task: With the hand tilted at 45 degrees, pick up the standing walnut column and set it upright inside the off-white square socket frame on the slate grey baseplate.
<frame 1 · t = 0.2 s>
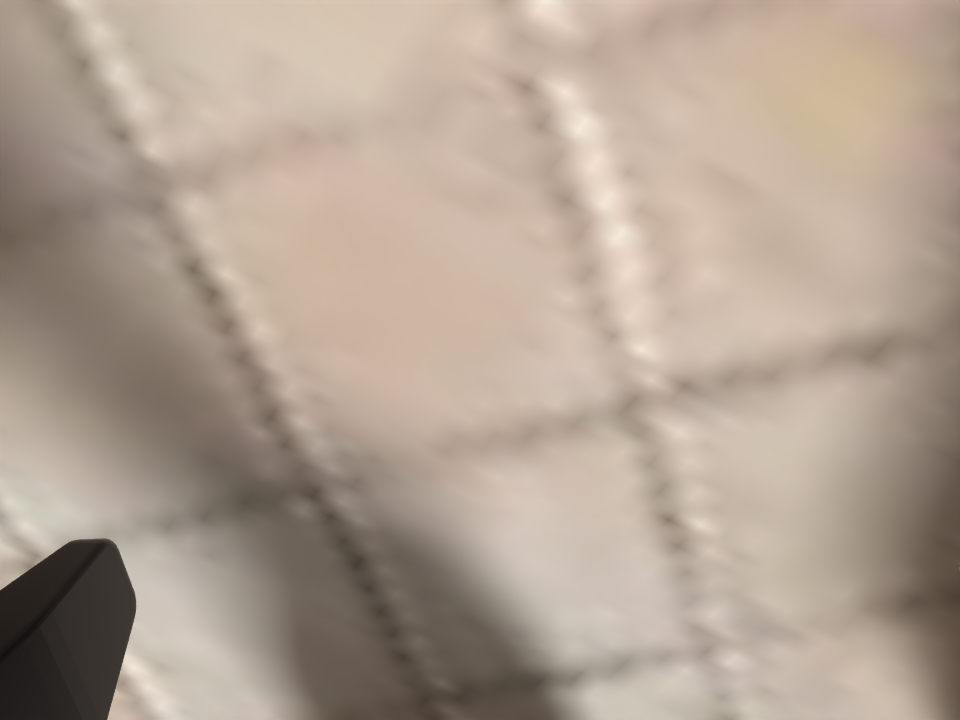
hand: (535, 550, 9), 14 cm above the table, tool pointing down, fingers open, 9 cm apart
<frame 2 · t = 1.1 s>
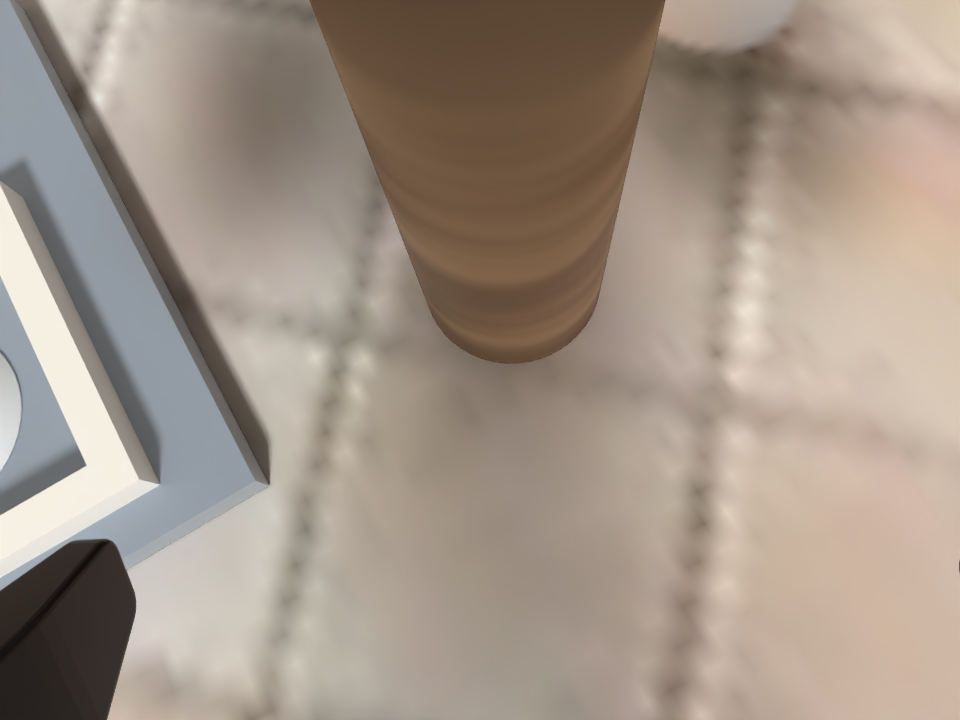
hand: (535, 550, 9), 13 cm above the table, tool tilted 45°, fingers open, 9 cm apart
walnut column: (511, 278, 24), on the table
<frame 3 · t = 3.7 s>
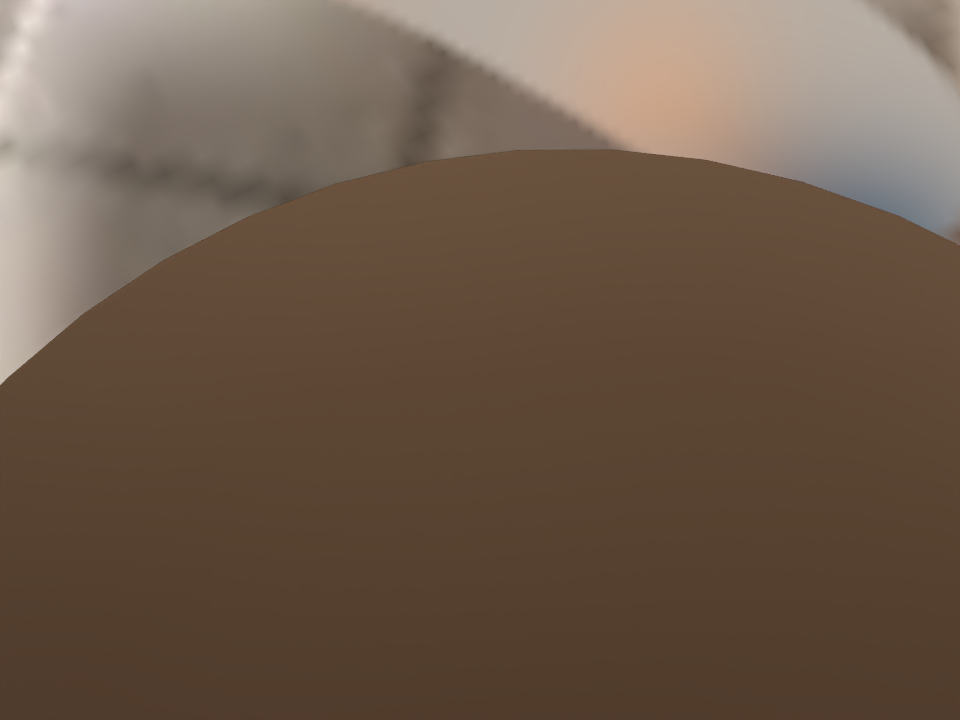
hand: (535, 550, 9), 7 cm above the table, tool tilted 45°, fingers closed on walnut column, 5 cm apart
walnut column: (539, 646, 15), on the table, touching gripper
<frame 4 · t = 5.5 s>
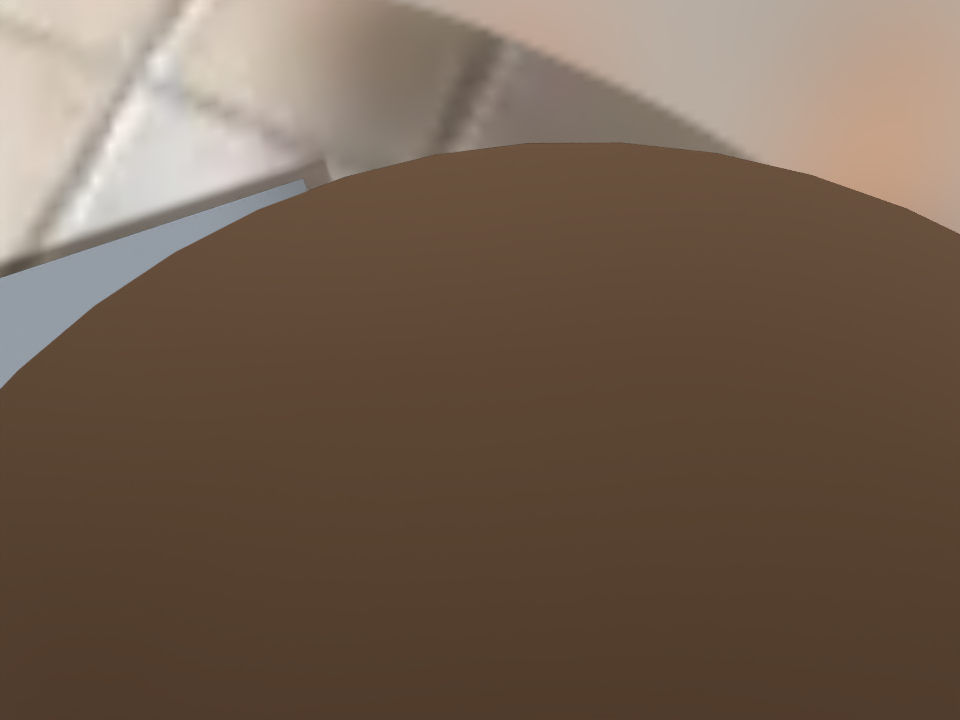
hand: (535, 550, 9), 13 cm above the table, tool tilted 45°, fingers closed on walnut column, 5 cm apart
walnut column: (541, 644, 15), point 7 cm above the table, touching gripper
baseplate: (152, 567, 22), on the table
when the fingers open (9 cm above the table, at t = 7.7 s): walnut column stays where it is, resting on baseplate.
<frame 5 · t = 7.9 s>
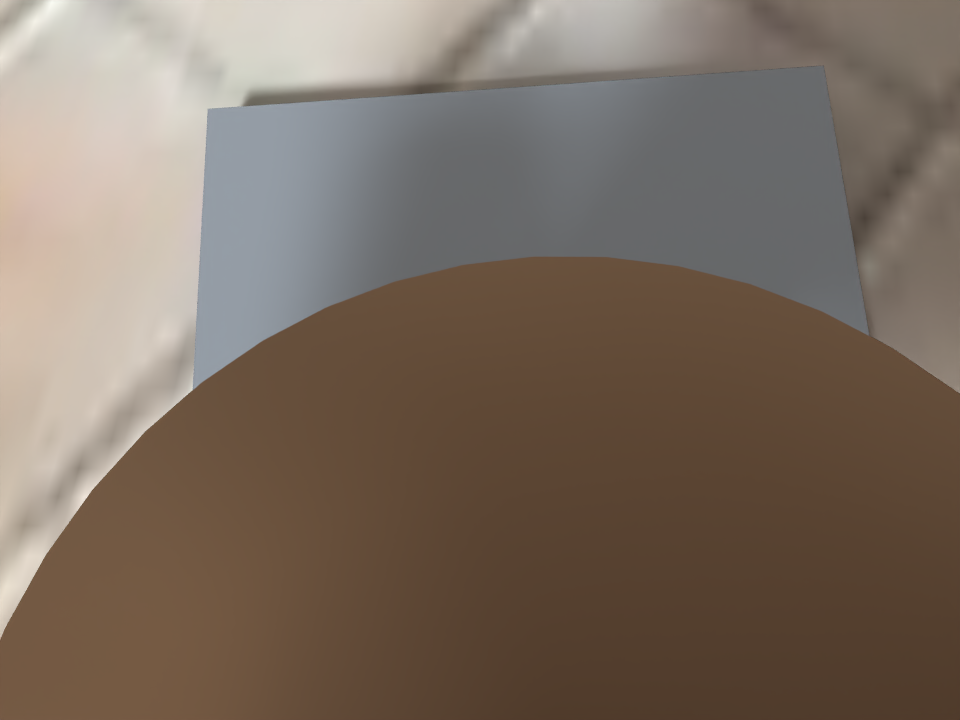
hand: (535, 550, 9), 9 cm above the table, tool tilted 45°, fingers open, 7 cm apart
walnut column: (536, 645, 16), point 1 cm above the table, touching baseplate
baseplate: (531, 491, 18), on the table
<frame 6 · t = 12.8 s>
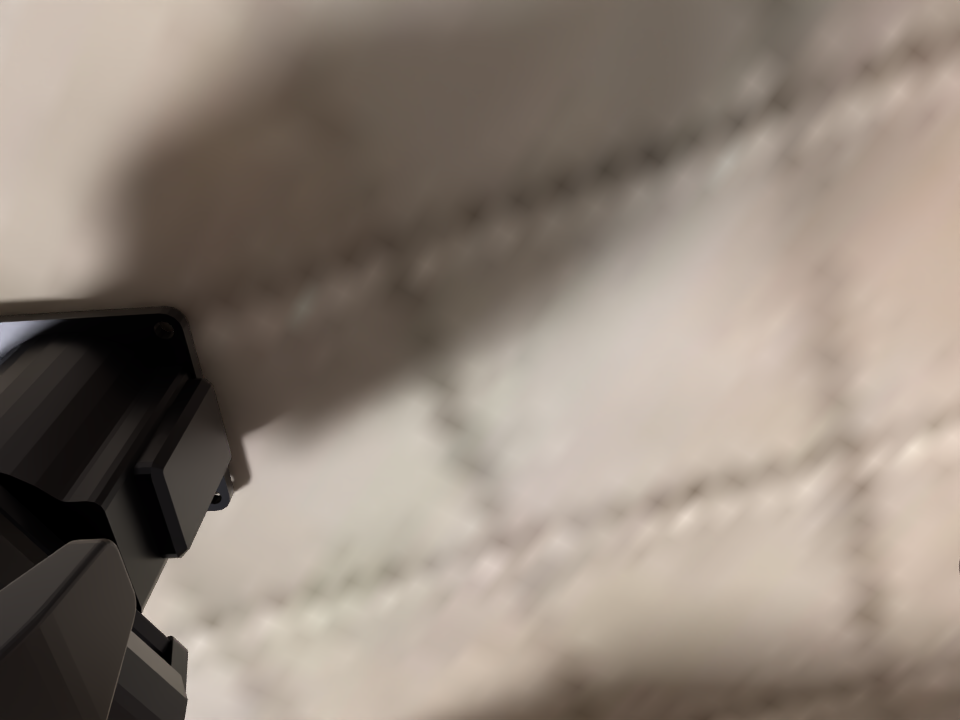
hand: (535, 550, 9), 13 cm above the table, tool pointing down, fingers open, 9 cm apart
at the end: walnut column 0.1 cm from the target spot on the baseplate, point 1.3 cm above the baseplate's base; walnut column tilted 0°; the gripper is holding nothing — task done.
